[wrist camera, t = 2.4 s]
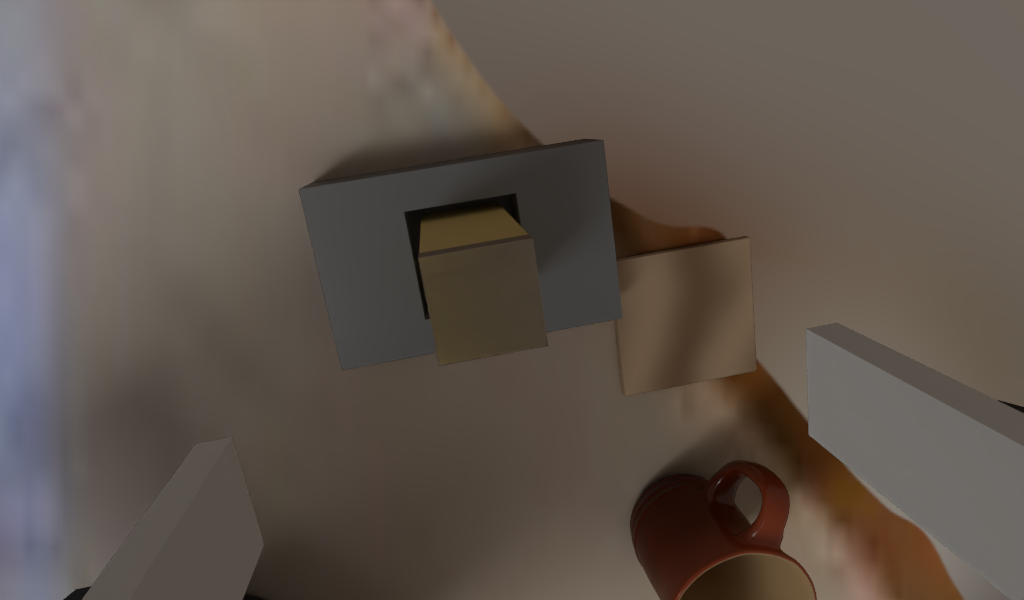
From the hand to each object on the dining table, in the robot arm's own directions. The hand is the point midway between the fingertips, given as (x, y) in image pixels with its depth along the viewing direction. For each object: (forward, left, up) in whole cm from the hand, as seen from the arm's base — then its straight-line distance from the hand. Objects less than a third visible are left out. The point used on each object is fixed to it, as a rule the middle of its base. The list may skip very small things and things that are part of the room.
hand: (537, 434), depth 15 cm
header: (0, 0, -25) cm, 25 cm away
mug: (+12, -20, -26) cm, 35 cm away
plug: (0, 0, -25) cm, 25 cm away
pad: (+13, -7, -25) cm, 29 cm away
